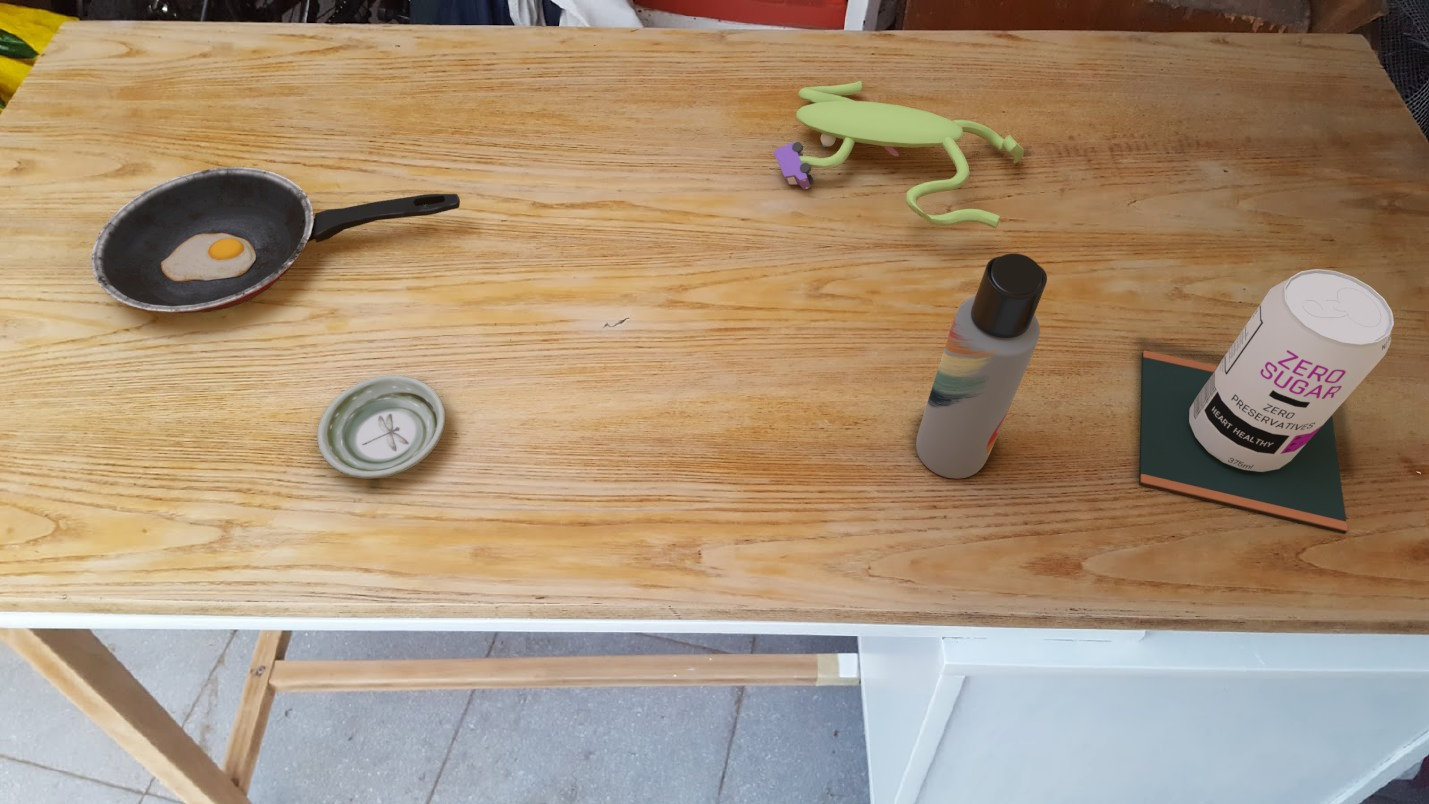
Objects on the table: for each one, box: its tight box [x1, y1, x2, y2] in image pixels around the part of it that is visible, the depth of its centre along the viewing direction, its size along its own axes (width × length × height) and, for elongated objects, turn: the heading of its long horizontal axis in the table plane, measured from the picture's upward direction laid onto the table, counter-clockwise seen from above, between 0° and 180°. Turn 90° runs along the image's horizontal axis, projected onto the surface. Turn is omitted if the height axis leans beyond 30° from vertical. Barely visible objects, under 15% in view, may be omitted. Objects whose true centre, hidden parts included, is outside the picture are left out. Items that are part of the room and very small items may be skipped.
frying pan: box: [90, 166, 461, 315], centre depth 87 cm, size 19×32×4 cm, turn 102°
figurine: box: [773, 79, 1025, 229], centre depth 94 cm, size 18×27×6 cm
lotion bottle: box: [915, 252, 1048, 480], centre depth 67 cm, size 6×6×20 cm
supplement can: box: [1189, 268, 1395, 472], centre depth 70 cm, size 8×8×15 cm
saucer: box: [316, 375, 446, 480], centre depth 74 cm, size 10×10×2 cm
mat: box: [1138, 350, 1349, 534], centre depth 76 cm, size 15×14×1 cm
